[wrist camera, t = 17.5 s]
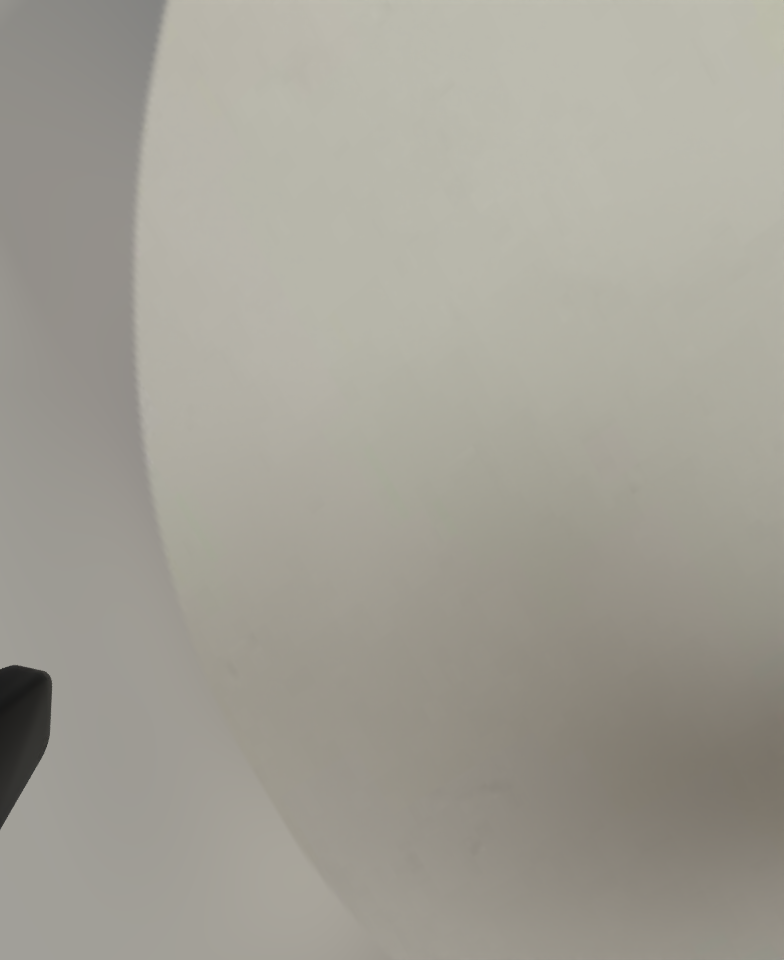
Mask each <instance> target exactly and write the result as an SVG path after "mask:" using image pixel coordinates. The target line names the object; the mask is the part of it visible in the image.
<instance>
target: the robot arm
mask: <svg viewBox="0 0 784 960" xmlns="http://www.w3.org/2000/svg"><path fill="white" fill-rule="evenodd" d="M51 699H52V681H51V677H50V676H49V674H47V672H45V671H41V670H36V669H32V668H27V667H23V666H18V665H12V666H9V667H5V668H2V669H0V829H1V827H2V826H3V824H4V822H5V820H6V819H7V817H8V815H9V813H10V812H11V810H12V808H13V806H14V805H15V803H16V801H17V800H18V798H19V796H20V794H21V793H22V791H23V789H24V787H25V786H26V784H27V782H28V780H29V779H30V777H31V775H32V774H33V772H34V770H35V768H36V767H37V765H38V763H39V762H40V760H41V758H42V756H43V754H44V752H45V749H46V747H47V744H48V740H49V736H50V719H51Z"/></svg>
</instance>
